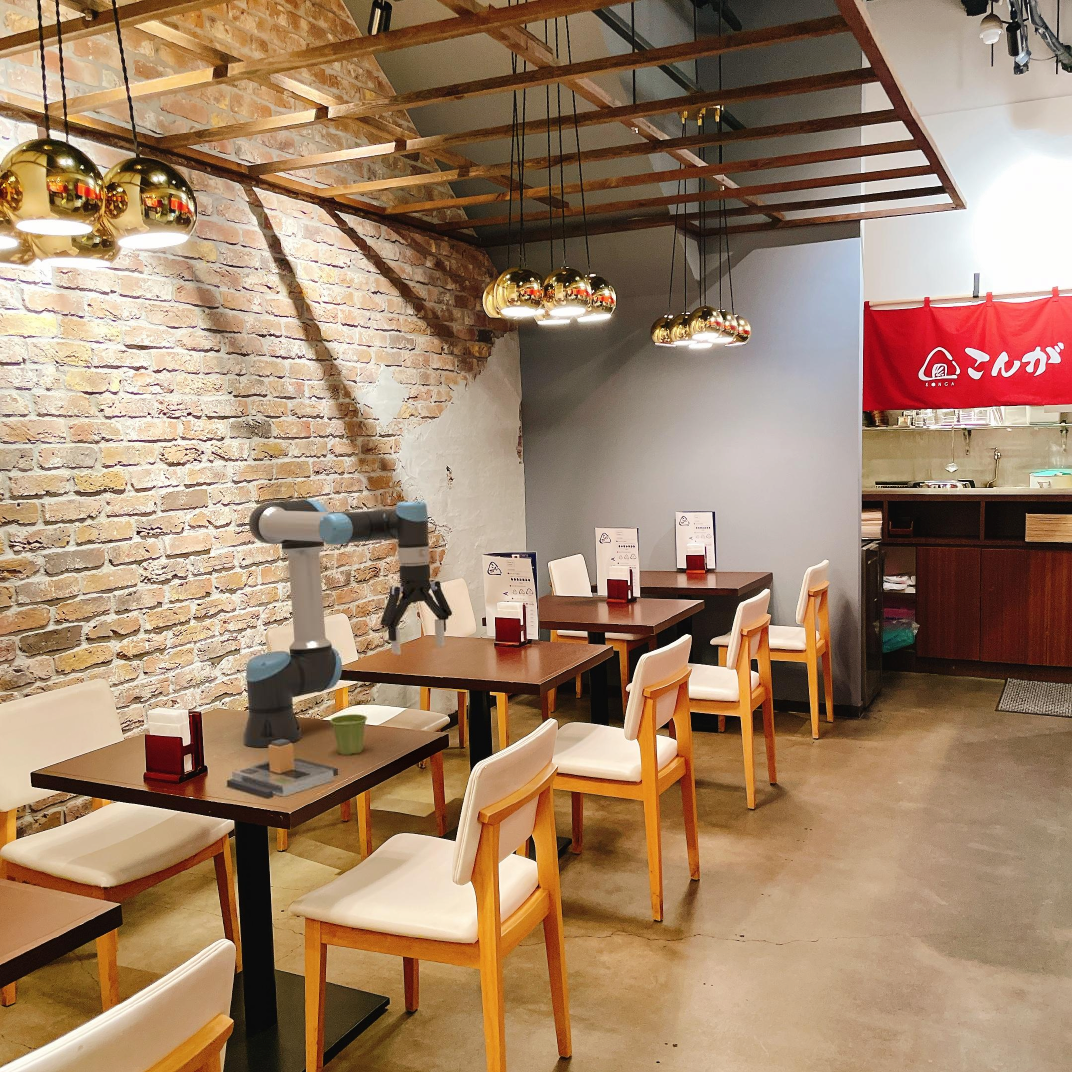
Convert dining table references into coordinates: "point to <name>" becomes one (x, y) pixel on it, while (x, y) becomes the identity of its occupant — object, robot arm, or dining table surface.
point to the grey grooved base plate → (266, 792)
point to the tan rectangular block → (281, 756)
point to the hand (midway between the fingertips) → (418, 649)
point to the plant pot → (349, 733)
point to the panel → (284, 777)
